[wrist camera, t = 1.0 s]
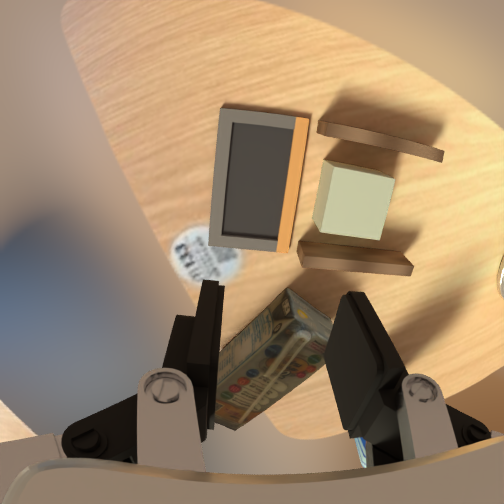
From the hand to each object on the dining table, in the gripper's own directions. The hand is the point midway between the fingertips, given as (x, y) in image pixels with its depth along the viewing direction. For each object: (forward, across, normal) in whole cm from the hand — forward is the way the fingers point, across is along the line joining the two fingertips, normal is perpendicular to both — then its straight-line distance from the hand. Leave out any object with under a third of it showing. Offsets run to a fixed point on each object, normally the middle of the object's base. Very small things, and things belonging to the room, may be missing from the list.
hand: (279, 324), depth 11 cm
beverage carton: (+22, -3, +21) cm, 30 cm away
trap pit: (+21, 0, 0) cm, 21 cm away
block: (+22, -9, 0) cm, 23 cm away
